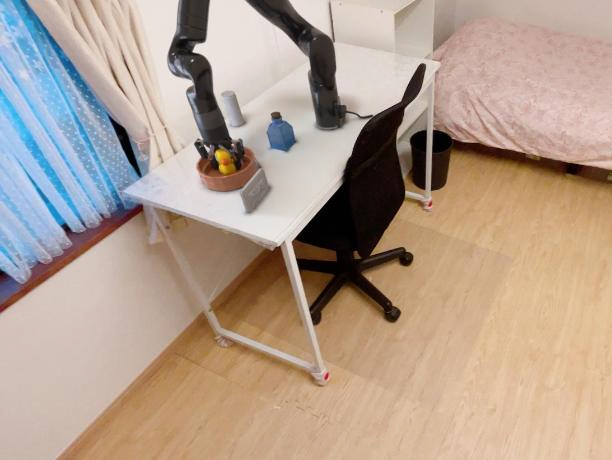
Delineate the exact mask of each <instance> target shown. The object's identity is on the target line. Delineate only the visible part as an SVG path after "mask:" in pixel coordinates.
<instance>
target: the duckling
mask: <svg viewBox="0 0 612 460" xmlns="http://www.w3.org/2000/svg"><path fill="white" fill-rule="evenodd" d="M229 151H230V150H229ZM215 156H216V159H217V161H218V163H219V170H220V172H221V173H222V174H224V175H225V176H228V175H232V174H235V173H236V171H237V170H236V167H235V164H234V160H233V159H232V157H231V156H230V155H229V154H228V153H227V152H225V151H223V150H221V149H218V150H216V152H215Z"/></svg>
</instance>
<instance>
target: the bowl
mask: <svg viewBox="0 0 612 460" xmlns="http://www.w3.org/2000/svg"><path fill="white" fill-rule="evenodd" d="M232 146H233V147H234V148H235V146H234V144H232ZM229 150H230V149H229ZM235 150H236V152H237V148H235ZM207 152H208V153H209V151H207ZM244 152H245V155H244V156H243V159H240V160H241V163H242V167H241V169H240V170H237V171H236V173H235V174H232V175H228V176H225V175H224V174H222V173H221V172H220V170H219V169H218V170H215V169H213V168H212V165H211V163H210V161H209V160H208V159H202V158H201V157H200V158H199V159H198V160H197V162H196V167H195V169H196V171H197V174H198V176H199V178H200V180H201V182H202V184H203V185H204V187H206V188H208V189H209V190H213V191H216V192H228V191H233V190H237V189H240V188H243V187H244V186H245V185H246V184H247V183H248V181H249V180H250V179H251V178H252V177H253V176H254V175H255V173H256V172H257V171H258V170H259V169H260V168H259V164H258V161H257V157H256V155H255V152H254V151H253V150H252V149H251V148H249V147H247V146H244ZM237 153H238V152H237ZM214 157H216V156H214ZM218 164H219V163H218Z"/></svg>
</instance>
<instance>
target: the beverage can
mask: <svg viewBox="0 0 612 460" xmlns="http://www.w3.org/2000/svg"><path fill="white" fill-rule="evenodd" d="M220 98H221V100H222V104H223V106H224V109H225V112H226V115H227V118H228V120H229V123H230V125H231V126H232V127H235V128H236V127H237V128H238V127H241V126H243V125H244V124H245V120H244V117H243V114H242V110H241V107H240V104H239V101H238V97H237V95H236V93H235V91H233V90H226V91H223V92H221V94H220Z"/></svg>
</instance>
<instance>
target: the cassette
mask: <svg viewBox="0 0 612 460" xmlns="http://www.w3.org/2000/svg"><path fill="white" fill-rule="evenodd" d="M269 189H270V184H269V182H268V177H267V175H266V171H265V169H264V168H263V167H260V168H259V170H258V171H257V172H256V173H255V175H254V176H253V177H252V178H251V179H250V180H249V181H248V183H247V184H246V185H245V186H243V187H241V189H240V191H239V195H240V197H241V200H242V204H243V207H244V209H245V211H246V213H251V212H252V211H253V210H254V209H256V207H257V206H258V205H259V203H260V202H261V201H262V199H263V198H264V197H265V196H266V195H267V193H268V191H269Z"/></svg>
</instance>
